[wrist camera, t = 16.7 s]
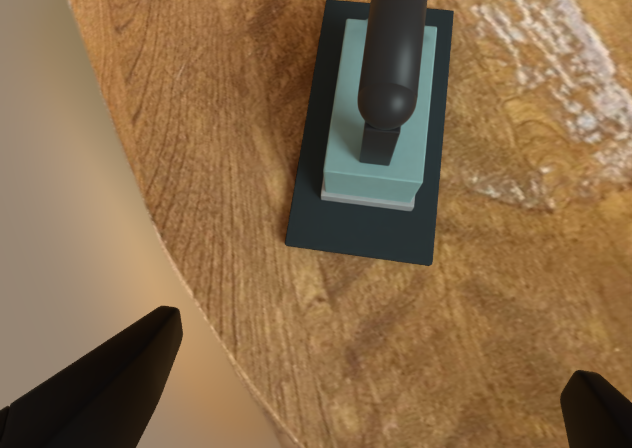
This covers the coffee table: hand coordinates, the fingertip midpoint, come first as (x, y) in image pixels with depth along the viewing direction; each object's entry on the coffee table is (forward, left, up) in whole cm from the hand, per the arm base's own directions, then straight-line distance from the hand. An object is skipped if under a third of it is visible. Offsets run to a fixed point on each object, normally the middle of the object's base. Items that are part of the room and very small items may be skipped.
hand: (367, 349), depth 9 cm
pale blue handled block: (+10, -7, -12) cm, 17 cm away
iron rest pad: (+10, -7, -13) cm, 18 cm away
